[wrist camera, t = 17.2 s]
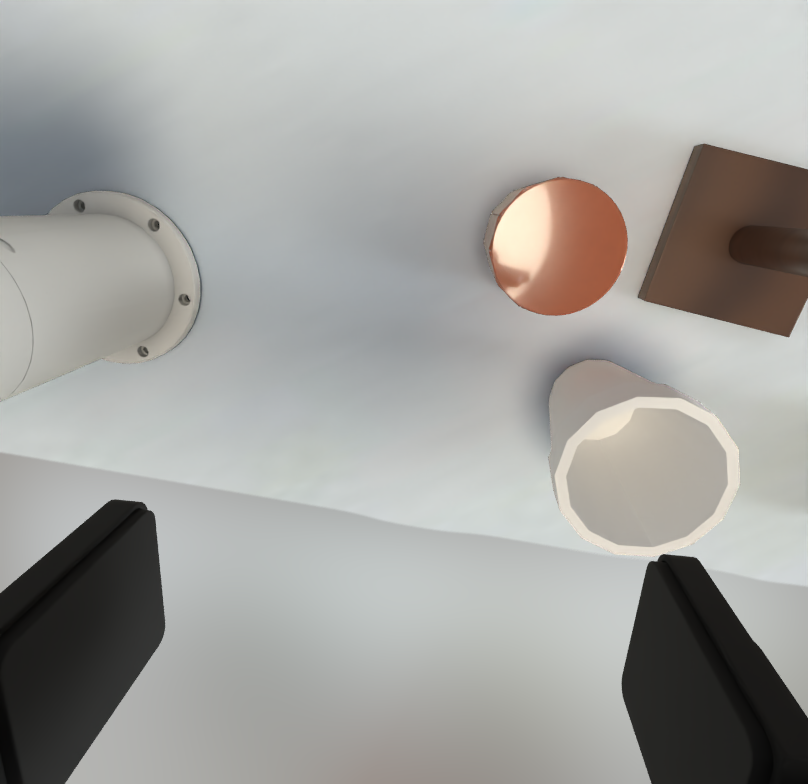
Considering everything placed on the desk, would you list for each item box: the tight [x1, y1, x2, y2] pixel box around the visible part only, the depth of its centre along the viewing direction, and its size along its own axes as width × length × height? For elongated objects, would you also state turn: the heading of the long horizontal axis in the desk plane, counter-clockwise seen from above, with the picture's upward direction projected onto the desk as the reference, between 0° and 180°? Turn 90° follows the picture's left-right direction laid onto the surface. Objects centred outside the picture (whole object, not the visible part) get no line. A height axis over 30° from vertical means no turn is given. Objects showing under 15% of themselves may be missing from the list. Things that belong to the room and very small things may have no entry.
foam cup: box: [548, 360, 740, 557], centre depth 36 cm, size 10×9×13 cm
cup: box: [483, 177, 628, 316], centre depth 35 cm, size 7×7×9 cm
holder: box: [638, 144, 808, 337], centre depth 31 cm, size 10×10×15 cm
